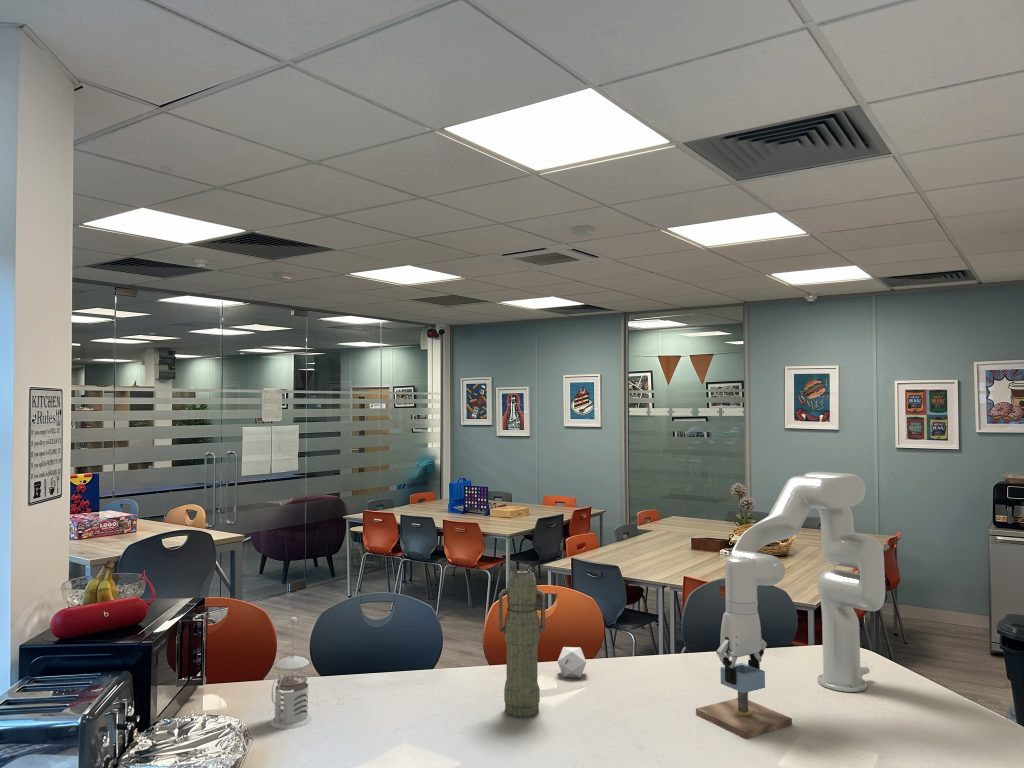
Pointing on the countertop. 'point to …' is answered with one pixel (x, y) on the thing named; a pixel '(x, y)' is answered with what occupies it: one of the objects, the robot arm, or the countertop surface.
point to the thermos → (522, 643)
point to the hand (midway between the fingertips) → (742, 679)
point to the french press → (291, 693)
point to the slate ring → (745, 678)
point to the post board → (743, 716)
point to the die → (572, 662)
